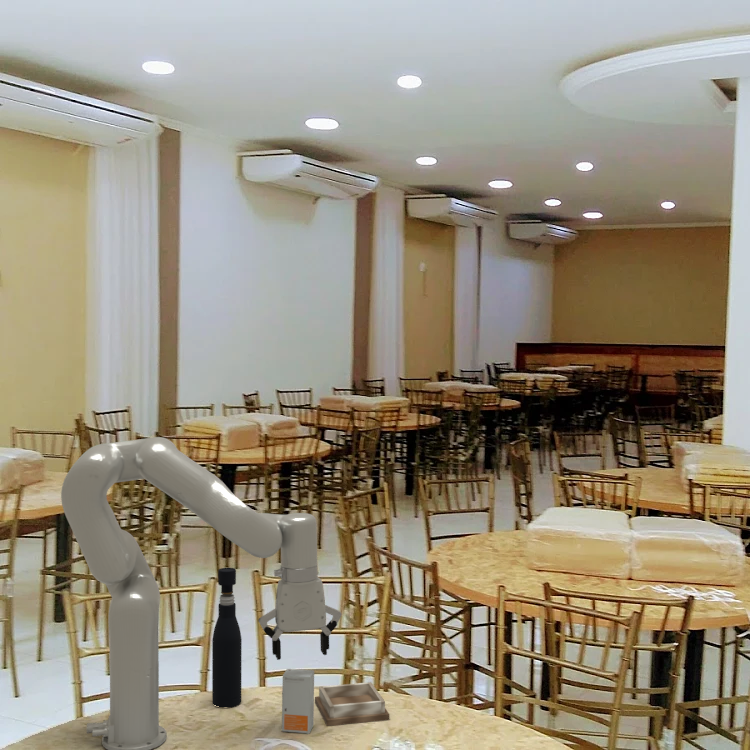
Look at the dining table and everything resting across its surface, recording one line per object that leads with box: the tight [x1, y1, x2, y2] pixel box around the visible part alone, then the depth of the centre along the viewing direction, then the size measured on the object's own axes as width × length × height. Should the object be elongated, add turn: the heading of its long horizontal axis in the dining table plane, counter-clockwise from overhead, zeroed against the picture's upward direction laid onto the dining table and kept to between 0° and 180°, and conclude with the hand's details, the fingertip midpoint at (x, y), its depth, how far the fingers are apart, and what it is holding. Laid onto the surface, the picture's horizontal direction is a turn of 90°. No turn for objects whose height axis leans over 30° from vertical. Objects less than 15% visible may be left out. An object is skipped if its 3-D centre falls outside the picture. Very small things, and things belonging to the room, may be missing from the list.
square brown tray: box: [314, 681, 390, 727], centre depth 204 cm, size 14×14×4 cm
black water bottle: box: [211, 567, 243, 708], centre depth 208 cm, size 6×6×30 cm
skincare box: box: [281, 668, 315, 734], centre depth 194 cm, size 6×4×12 cm
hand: (301, 655), depth 194 cm, fingers open, 9 cm apart
